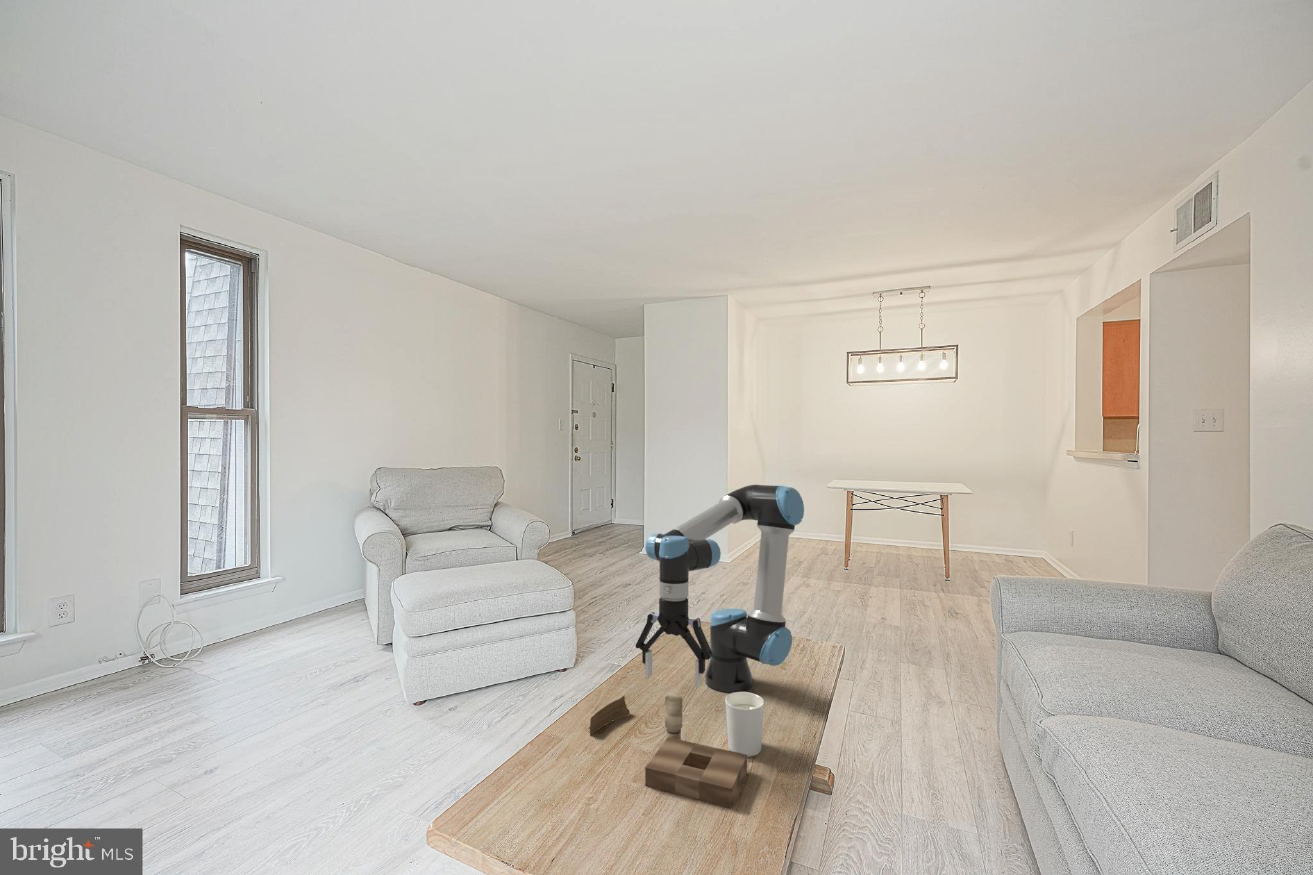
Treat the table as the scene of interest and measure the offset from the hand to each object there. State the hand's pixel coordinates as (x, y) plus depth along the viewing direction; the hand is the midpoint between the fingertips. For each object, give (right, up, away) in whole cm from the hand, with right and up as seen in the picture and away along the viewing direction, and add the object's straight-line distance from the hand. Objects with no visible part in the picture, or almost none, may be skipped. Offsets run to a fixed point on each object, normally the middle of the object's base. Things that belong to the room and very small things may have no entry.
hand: (673, 681), depth 140 cm
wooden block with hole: (+5, -16, -14) cm, 22 cm away
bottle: (0, -16, 0) cm, 16 cm away
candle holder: (+18, -17, -1) cm, 25 cm away
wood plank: (-17, -17, +11) cm, 26 cm away
